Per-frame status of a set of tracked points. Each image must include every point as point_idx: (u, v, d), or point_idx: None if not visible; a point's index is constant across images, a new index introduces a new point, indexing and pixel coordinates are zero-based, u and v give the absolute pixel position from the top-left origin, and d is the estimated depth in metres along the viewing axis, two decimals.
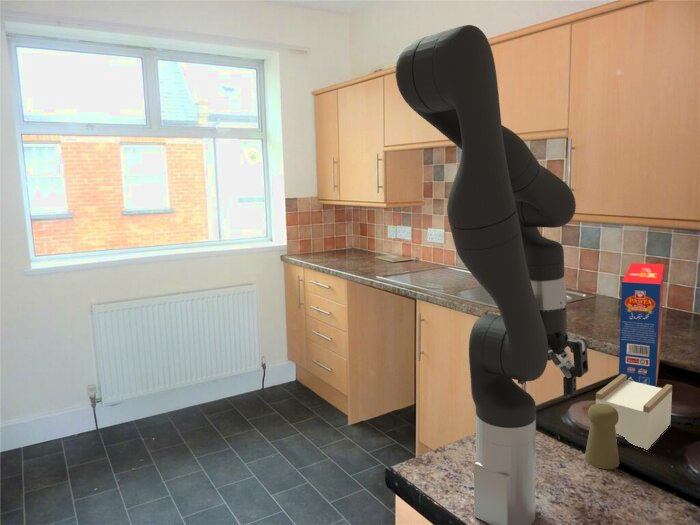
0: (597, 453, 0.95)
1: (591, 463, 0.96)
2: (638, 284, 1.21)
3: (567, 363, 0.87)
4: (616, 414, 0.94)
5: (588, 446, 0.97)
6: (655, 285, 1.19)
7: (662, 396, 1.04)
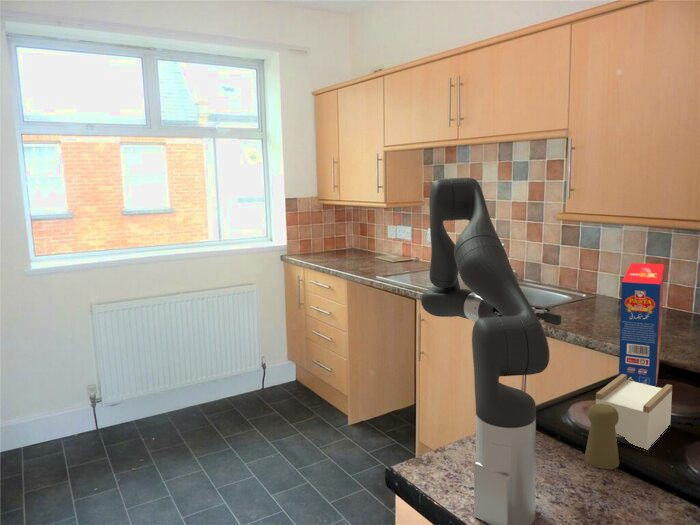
0: (597, 453, 0.95)
1: (591, 463, 0.96)
2: (638, 284, 1.21)
3: None
4: (616, 414, 0.94)
5: (588, 446, 0.97)
6: (655, 285, 1.19)
7: (662, 396, 1.04)
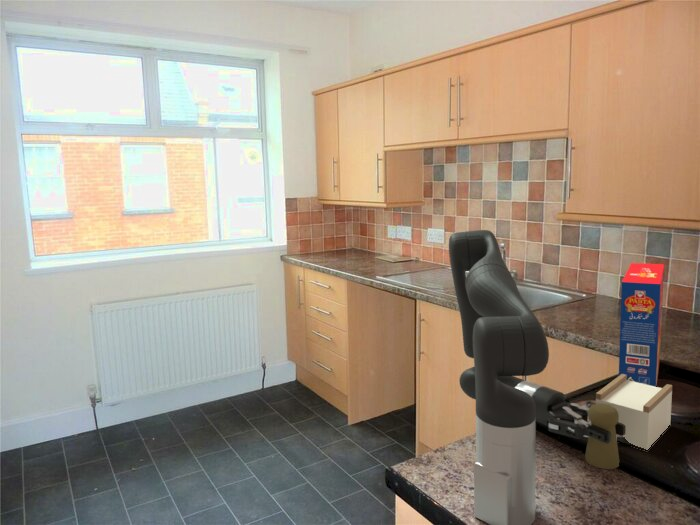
0: (597, 453, 0.95)
1: (591, 463, 0.96)
2: (638, 284, 1.21)
3: None
4: (616, 414, 0.94)
5: (588, 446, 0.97)
6: (655, 285, 1.19)
7: (662, 396, 1.04)
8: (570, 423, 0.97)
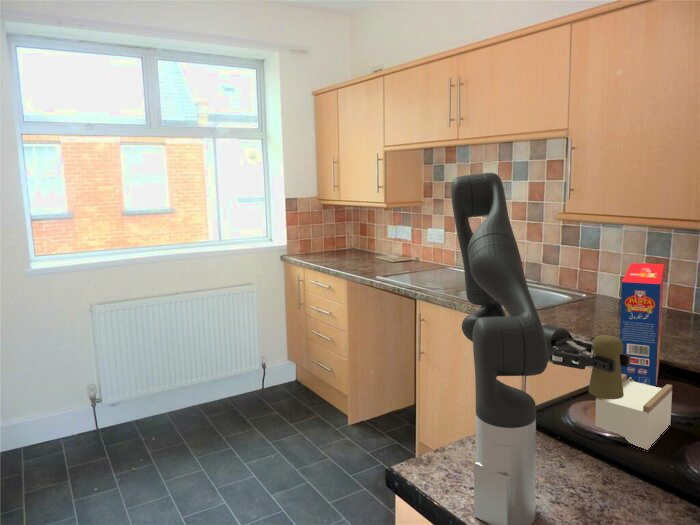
0: (602, 383, 0.94)
1: (595, 394, 0.95)
2: (638, 284, 1.21)
3: None
4: (621, 343, 0.93)
5: (592, 378, 0.96)
6: (655, 285, 1.19)
7: (662, 396, 1.04)
8: (574, 354, 0.96)
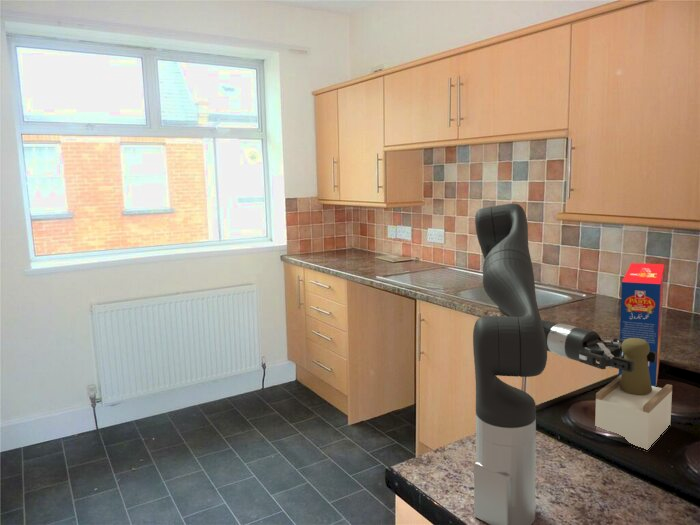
0: (632, 381, 1.06)
1: (626, 391, 1.08)
2: (638, 284, 1.21)
3: None
4: (647, 345, 1.05)
5: (623, 376, 1.08)
6: (655, 285, 1.19)
7: (662, 396, 1.04)
8: (597, 355, 1.06)
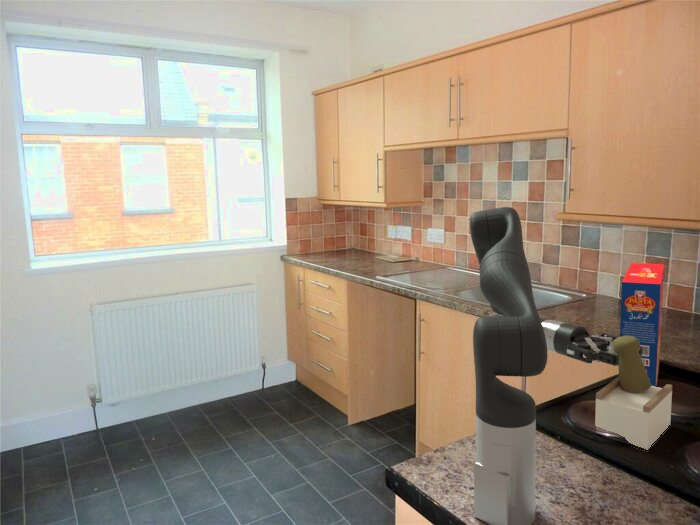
0: (629, 379, 1.07)
1: (625, 389, 1.08)
2: (638, 284, 1.21)
3: None
4: (637, 342, 1.06)
5: (620, 375, 1.09)
6: (655, 285, 1.19)
7: (662, 396, 1.04)
8: (583, 349, 1.08)
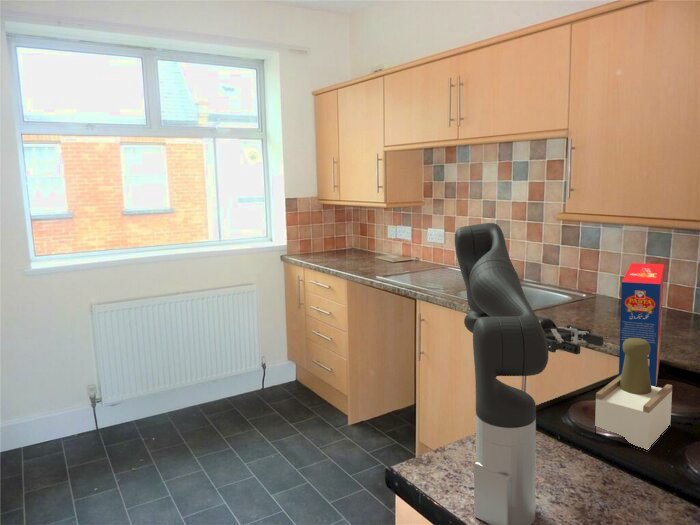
0: (631, 380, 1.07)
1: (626, 390, 1.08)
2: (638, 284, 1.21)
3: (579, 339, 1.21)
4: (648, 345, 1.06)
5: (623, 375, 1.09)
6: (655, 285, 1.19)
7: (662, 396, 1.04)
8: (548, 339, 1.16)
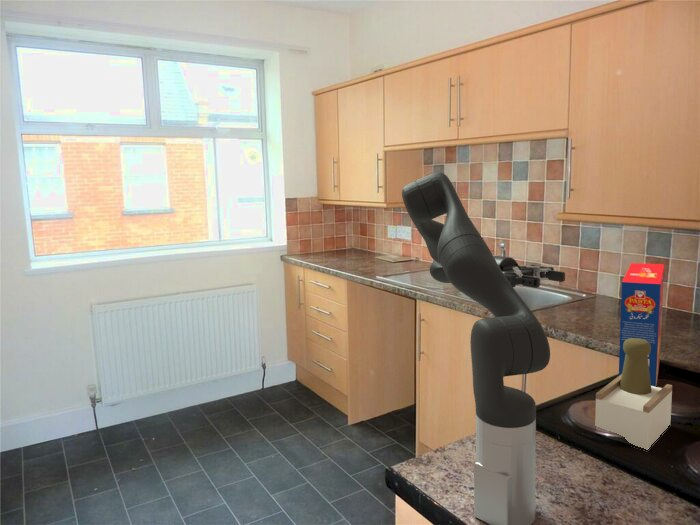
0: (631, 380, 1.07)
1: (625, 390, 1.08)
2: (638, 284, 1.21)
3: (541, 277, 1.17)
4: (649, 345, 1.06)
5: (623, 375, 1.09)
6: (655, 285, 1.19)
7: (662, 396, 1.04)
8: (508, 274, 1.12)
